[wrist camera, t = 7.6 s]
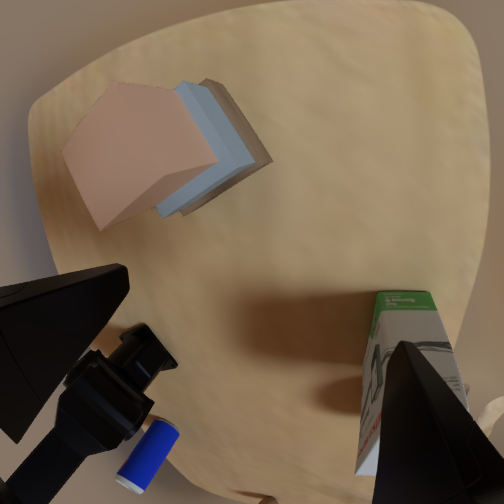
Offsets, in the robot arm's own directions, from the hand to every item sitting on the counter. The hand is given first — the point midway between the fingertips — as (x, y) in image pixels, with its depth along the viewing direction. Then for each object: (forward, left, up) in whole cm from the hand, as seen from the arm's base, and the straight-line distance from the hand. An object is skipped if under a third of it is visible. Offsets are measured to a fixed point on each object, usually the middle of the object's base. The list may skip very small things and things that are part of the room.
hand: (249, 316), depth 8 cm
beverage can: (-38, -22, -13) cm, 46 cm away
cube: (-4, +8, -7) cm, 11 cm away
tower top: (-4, +7, -10) cm, 13 cm away
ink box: (+2, -13, -13) cm, 19 cm away
